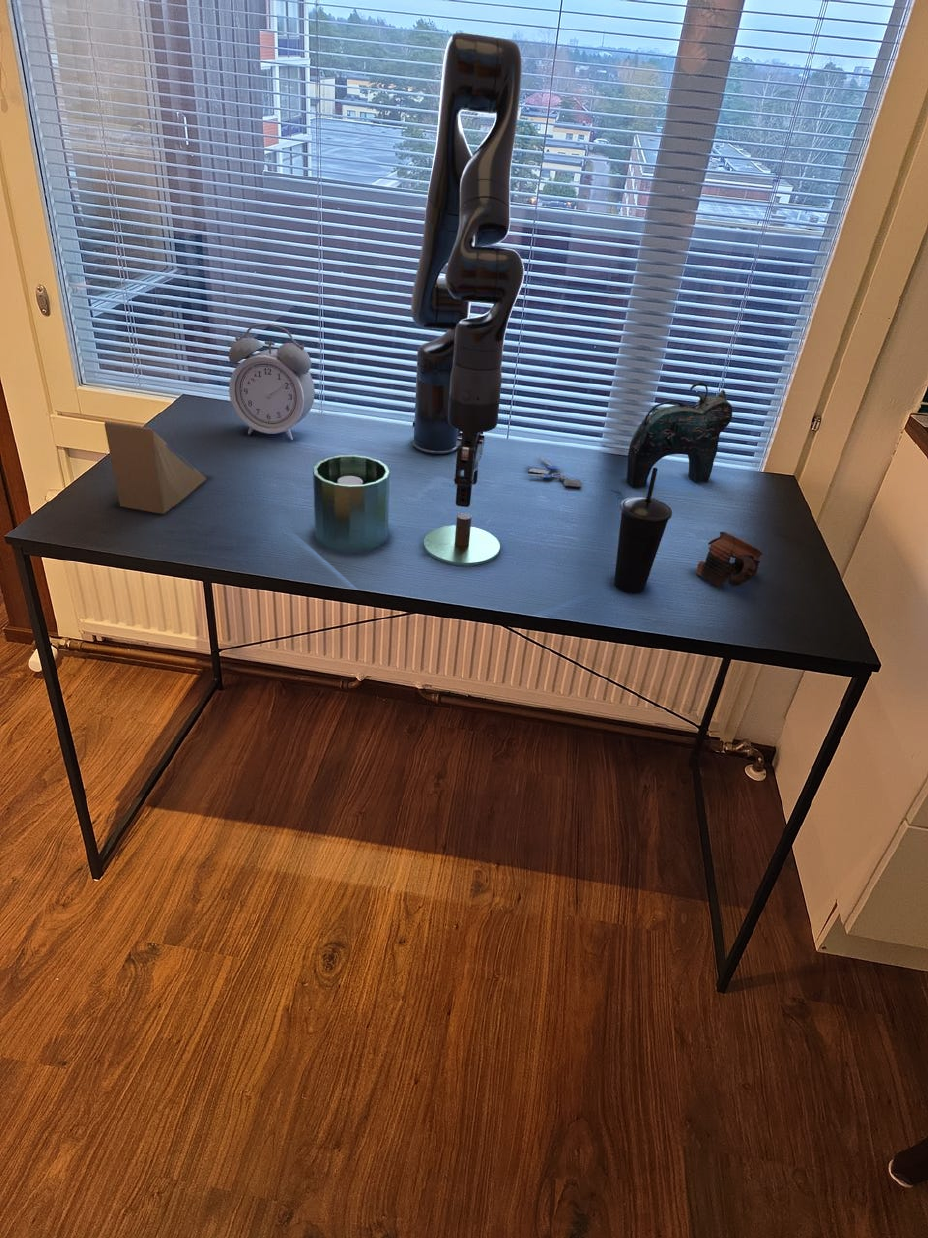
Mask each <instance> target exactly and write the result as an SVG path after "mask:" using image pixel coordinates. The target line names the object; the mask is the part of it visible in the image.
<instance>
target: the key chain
mask: <svg viewBox="0 0 928 1238" xmlns="http://www.w3.org/2000/svg"><path fill="white" fill-rule="evenodd" d="M540 459H541V460H542V461H543V462H544V463H545V464H546V465H547V466H546V468H547V470H545V469H539V468H533V467H532V468H530V469H529V471H528V472H530V473H528V476H529V477H539V478H543V479H556V480H557V479H558V480H561V481H563V486H565V487H572V488H573V487H574V488H581V487H582V484H581V480H580V479H577V478H569V477H566V476H564V475H563V474H562V470H561V469H560V468H559V467H558V466H555V465H552V464H551V463H550V462H549V461H547V460H546V459H545V458H544V457H540ZM552 470H553V471H557V470H558V471H560V472H553V473H550V471H552Z"/></svg>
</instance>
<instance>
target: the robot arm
mask: <svg viewBox="0 0 928 1238" xmlns="http://www.w3.org/2000/svg"><path fill="white" fill-rule="evenodd" d="M522 60H523V59H522V53H521V50H520V48H519V46H518V44H517V43H516V42H515V41H512V40H510V39H505V38H502V37H501V38H500V37H495V36H489V35H481V34H473V33H466V32H455V33H454V34H452V35H451V36H450V38H449V39H448V41H447V44H446V48H445V51H444V56H443V61H442V70H441V71H442V72H441V82H440V94H439V107H438V120H437V131H436V142H435V147H434V148H435V150H434V155H433V160H432V168H431V173H430V179H429V184H428V190H427V198H426V205H425V213H424V215H425V216H424V223H423V233H422V243H421V249H420V255H419V259H418V264H417V269H416V273H415V278H414V282H413V286H412V287H413V288H412V291H411V292H412V293H411V302H410V311H411V317H412V321H413V323H414V324H415V325H416V326H417V327H419V328H423V329H428V330H429V329H430V330H431V329H434V330H435V329H436V330H438V329H439V330H446V332H445V333H443V334H442V335H441V336H439V337H438V338H436V339H434V340H431V341H428V342H425V343H423V344H422V345H420V346H419V347H418V350H417V353H416V375H415V376H416V380H415V397H414V399H415V400H414V401H415V402H414V419H413V420H414V421H413V422H412V428H413V440H412V446H413V448H414V449H416V450H418V451H419V452H422V453H426V454H429V455H430V454H431V455H449V454H451V453H454V452H456V455H455V462H454V465H455V474H454V479H453V482H454V485H456V492H455V505H456V506H458V507H463V508H469V507H470V506H471V500H472V489H473V488H472V487H473V485H474V486H475V485H476V484H477V483H478V474H479V464H480V461H481V459H482V456H481V455H483V453H484V446H485V441H486V434H484V433H486V432H490V431H492V430H494V429H495V428H497V426H498V423H499V412H500V411H499V410H500V402H501V392H502V391H501V389H502V383H503V382H502V380H503V379H502V362H503V354H504V345H505V337H506V332H507V328H508V324H509V320H510V318H511V314H512V312H513V309H514V306H515V304H516V301H517V299H518V297H519V295H520V292H521V290H522V286H523V283H524V279H525V278H524V277H525V266H524V262H523V259H522V257H521V256H520V254H519V253H518V252H517V251H516V250H514V249H511V248H507V247H506V248H505V247H490V246H493V245H497V244H499V243H500V242H502V241H504V240H505V239H506V237H508V235H509V233H510V227H511V172H512V164H513V155H514V148H515V142H516V133H517V124H518V117H519V107H520V98H521V87H522V75H523V61H522ZM462 112H469V113H477V114H484V115H490V116H491V115H492V116H495V118H494V122H493V125H492V127H491V128H490V131H489V132H488V134H487V135H486V136H485V138H484V139H483V140H482V142H481V143H480V145H479V146H477V148H476V149H475V150H474V152H473V153H472V151H471V149H470V147H469V145H468V143H467V142H468V141H467V140H466V136H465V133H464V130H463V124H462V121H461V120H462V119H461V113H462ZM445 267H446V268H445ZM444 268H445V276H441V273H442V272H443V270H444ZM472 303H479V304H480V303H481V304H493V305H492V306H491V308H490V309H489V311H487V312H486V313H484V314H482V315H478V316H471V317H470V314H471V304H472ZM462 471H463V475H462Z"/></svg>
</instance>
